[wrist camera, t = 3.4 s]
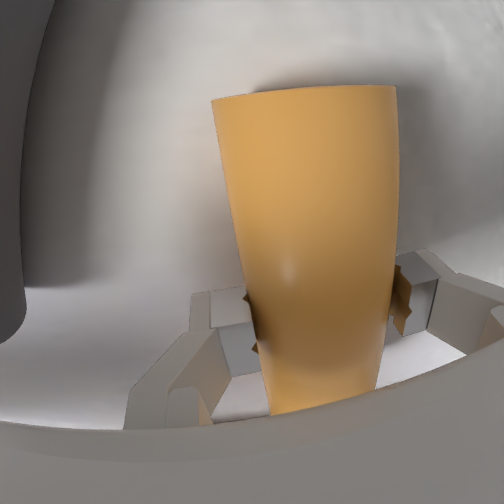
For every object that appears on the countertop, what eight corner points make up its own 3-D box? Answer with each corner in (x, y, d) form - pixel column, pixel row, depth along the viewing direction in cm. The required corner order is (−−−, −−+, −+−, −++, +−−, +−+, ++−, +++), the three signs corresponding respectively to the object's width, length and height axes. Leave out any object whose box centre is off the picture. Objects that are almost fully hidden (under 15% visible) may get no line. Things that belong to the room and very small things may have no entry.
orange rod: (185, 104, 7) (280, 93, 4) (313, 86, 9) (430, 87, 5) (252, 397, 12) (308, 466, 9) (327, 353, 14) (390, 405, 11)
